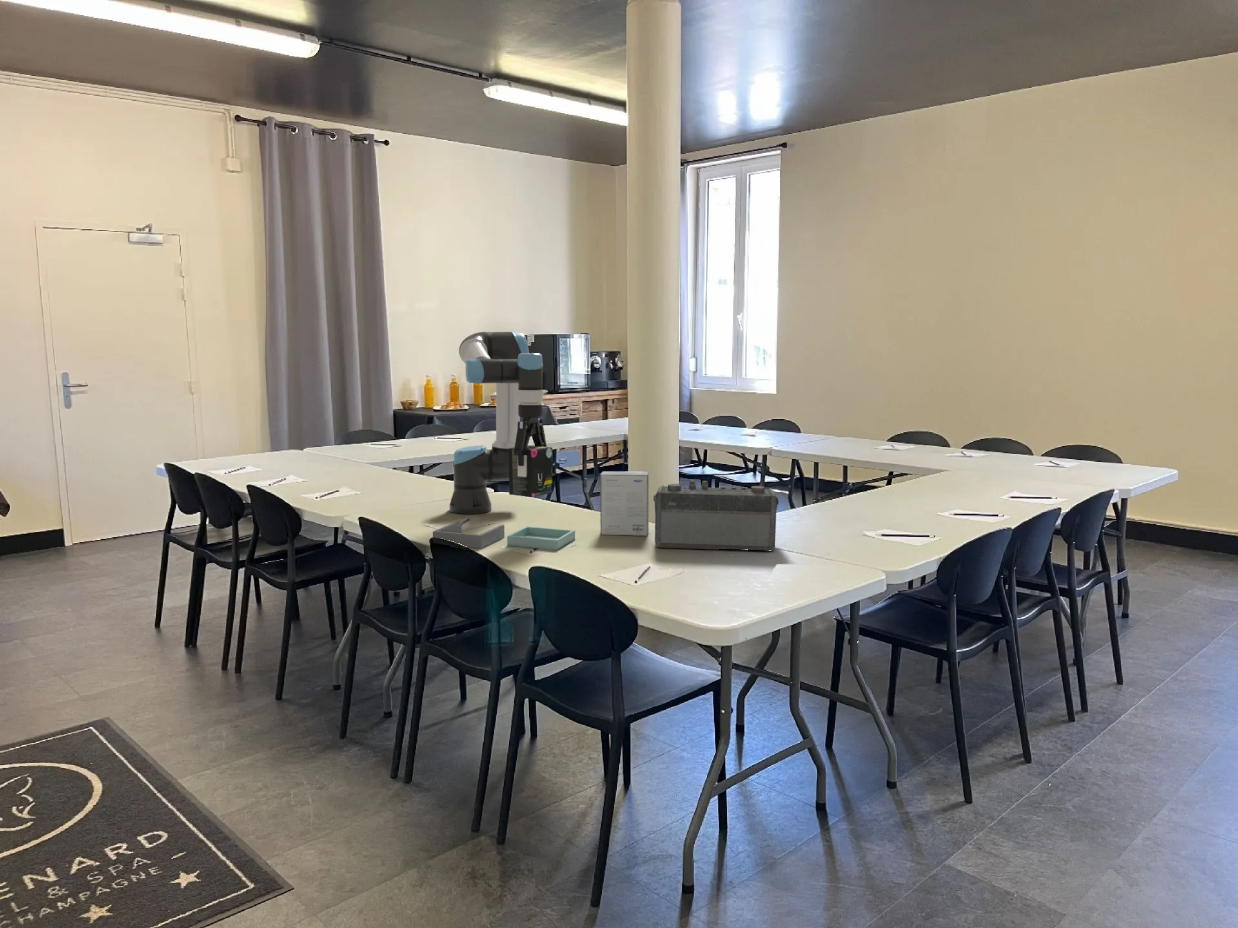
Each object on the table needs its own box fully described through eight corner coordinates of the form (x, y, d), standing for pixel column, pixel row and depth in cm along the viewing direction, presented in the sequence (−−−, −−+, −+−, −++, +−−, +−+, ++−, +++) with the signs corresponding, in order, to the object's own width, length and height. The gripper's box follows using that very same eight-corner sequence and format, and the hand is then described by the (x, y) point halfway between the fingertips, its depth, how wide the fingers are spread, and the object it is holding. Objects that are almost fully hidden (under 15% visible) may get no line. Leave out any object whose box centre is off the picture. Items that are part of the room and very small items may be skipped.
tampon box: (531, 497, 269) (531, 449, 268) (508, 495, 274) (507, 447, 272) (553, 493, 279) (553, 446, 277) (529, 490, 284) (529, 444, 282)
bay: (458, 533, 287) (457, 521, 287) (504, 537, 282) (504, 525, 282) (432, 544, 272) (432, 531, 272) (481, 548, 267) (481, 535, 267)
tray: (526, 535, 285) (526, 526, 285) (575, 539, 280) (575, 530, 280) (507, 545, 272) (507, 535, 271) (557, 550, 267) (557, 540, 266)
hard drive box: (649, 531, 294) (649, 471, 291) (647, 536, 286) (648, 475, 283) (602, 529, 295) (602, 470, 292) (599, 534, 288) (599, 473, 285)
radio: (651, 549, 269) (652, 484, 267) (654, 538, 284) (655, 476, 281) (778, 553, 266) (780, 487, 263) (774, 542, 280) (776, 479, 277)
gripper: (535, 401, 285) (535, 468, 288) (501, 405, 263) (502, 478, 265) (556, 402, 283) (557, 469, 286) (525, 406, 260) (525, 479, 263)
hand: (530, 473), depth 276 cm, fingers closed on tampon box, 12 cm apart
